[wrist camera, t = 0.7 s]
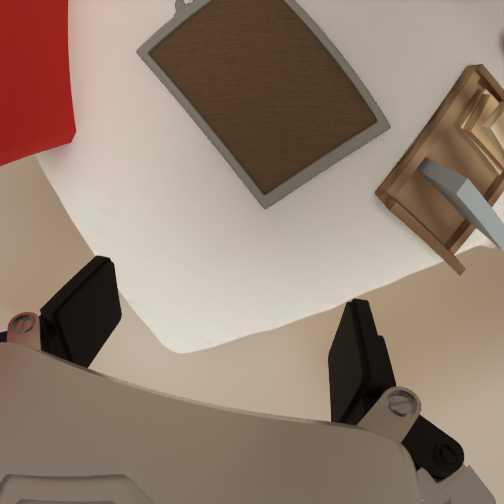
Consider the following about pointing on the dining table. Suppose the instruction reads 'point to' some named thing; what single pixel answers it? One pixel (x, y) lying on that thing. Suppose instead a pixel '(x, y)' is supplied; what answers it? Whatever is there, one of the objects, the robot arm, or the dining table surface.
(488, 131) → the offcut top
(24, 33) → the book
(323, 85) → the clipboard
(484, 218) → the grey square slab
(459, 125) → the offcut bottom
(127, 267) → the dining table surface
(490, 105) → the offcut middle
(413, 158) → the tray
